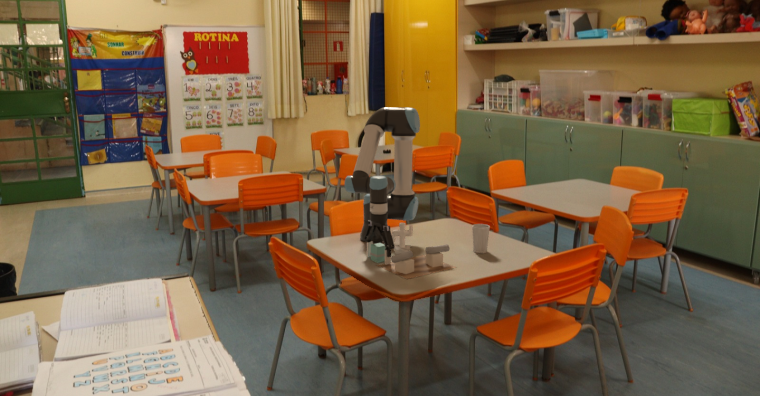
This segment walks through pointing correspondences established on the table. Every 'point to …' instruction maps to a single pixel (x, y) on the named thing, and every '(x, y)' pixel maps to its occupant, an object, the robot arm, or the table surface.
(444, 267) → the brown flat board
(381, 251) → the block
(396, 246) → the figurine
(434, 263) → the shaft
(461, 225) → the table surface
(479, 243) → the cup
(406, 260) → the shaft
